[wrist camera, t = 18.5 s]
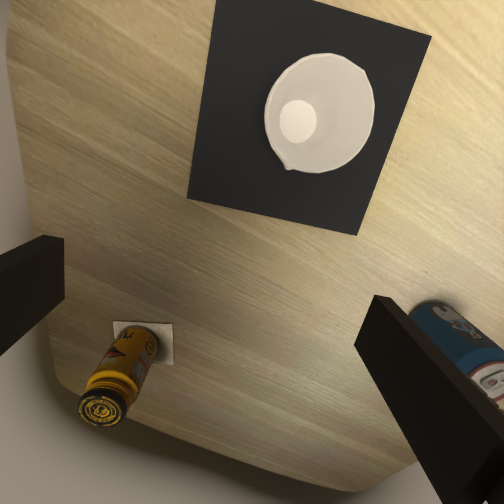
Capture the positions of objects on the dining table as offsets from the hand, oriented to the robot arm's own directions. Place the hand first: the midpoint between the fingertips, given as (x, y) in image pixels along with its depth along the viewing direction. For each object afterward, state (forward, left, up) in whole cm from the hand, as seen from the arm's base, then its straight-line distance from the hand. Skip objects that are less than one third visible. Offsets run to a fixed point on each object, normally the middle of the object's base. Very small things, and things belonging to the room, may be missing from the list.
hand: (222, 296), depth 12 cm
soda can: (+31, -12, -25) cm, 41 cm away
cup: (+5, +9, -25) cm, 27 cm away
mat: (+5, +9, -25) cm, 27 cm away
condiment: (-9, -25, -25) cm, 36 cm away
